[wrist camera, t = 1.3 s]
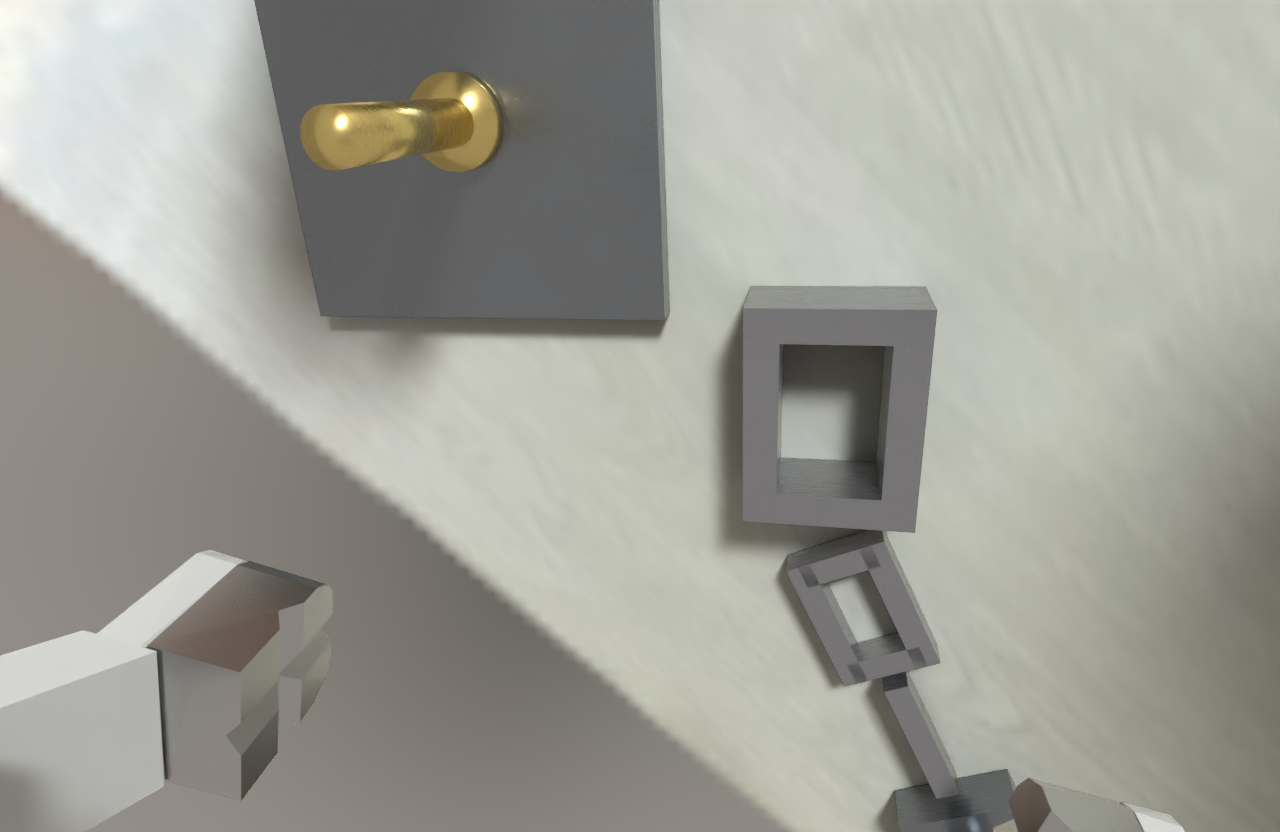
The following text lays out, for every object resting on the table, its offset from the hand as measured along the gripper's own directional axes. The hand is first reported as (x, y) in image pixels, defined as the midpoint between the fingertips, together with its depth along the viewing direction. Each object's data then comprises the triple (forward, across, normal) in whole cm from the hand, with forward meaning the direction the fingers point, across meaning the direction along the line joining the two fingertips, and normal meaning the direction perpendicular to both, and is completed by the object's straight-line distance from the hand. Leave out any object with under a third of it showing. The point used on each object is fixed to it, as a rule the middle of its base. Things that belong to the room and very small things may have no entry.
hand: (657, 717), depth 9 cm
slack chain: (+21, -12, +16) cm, 29 cm away
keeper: (+22, +11, -4) cm, 25 cm away
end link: (+21, -4, +3) cm, 22 cm away
